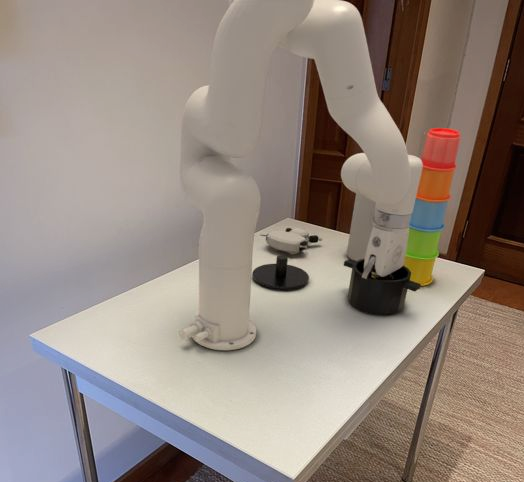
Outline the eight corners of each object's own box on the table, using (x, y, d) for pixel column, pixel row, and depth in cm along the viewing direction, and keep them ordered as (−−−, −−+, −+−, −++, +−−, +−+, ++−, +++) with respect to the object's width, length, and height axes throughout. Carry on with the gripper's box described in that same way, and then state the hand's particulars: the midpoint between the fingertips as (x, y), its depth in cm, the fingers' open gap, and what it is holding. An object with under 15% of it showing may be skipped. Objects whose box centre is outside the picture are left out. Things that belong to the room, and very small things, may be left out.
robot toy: (285, 238, 152) (257, 249, 140) (287, 222, 149) (259, 232, 138) (323, 248, 146) (297, 261, 135) (326, 232, 144) (300, 243, 133)
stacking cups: (441, 283, 129) (481, 133, 111) (407, 289, 125) (443, 134, 107) (414, 267, 137) (448, 124, 119) (382, 271, 133) (412, 125, 115)
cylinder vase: (402, 259, 141) (424, 163, 128) (375, 271, 133) (395, 169, 120) (364, 245, 148) (381, 152, 135) (336, 255, 140) (351, 158, 127)
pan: (396, 326, 109) (404, 291, 105) (326, 297, 119) (331, 264, 115) (424, 307, 118) (432, 274, 113) (356, 281, 127) (362, 250, 123)
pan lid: (284, 297, 118) (286, 273, 115) (240, 277, 125) (241, 255, 122) (319, 280, 126) (322, 258, 123) (276, 263, 134) (278, 242, 131)
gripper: (387, 232, 100) (370, 316, 110) (427, 215, 112) (408, 293, 121) (354, 221, 104) (340, 303, 114) (396, 206, 116) (380, 282, 125)
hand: (375, 297), depth 118 cm, fingers open, 4 cm apart
